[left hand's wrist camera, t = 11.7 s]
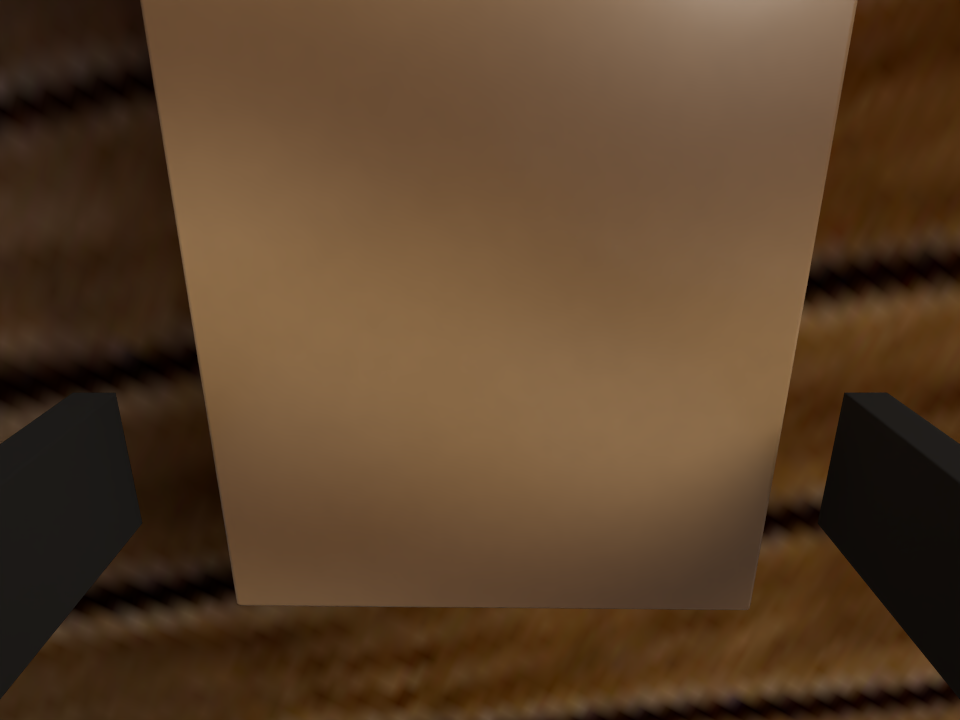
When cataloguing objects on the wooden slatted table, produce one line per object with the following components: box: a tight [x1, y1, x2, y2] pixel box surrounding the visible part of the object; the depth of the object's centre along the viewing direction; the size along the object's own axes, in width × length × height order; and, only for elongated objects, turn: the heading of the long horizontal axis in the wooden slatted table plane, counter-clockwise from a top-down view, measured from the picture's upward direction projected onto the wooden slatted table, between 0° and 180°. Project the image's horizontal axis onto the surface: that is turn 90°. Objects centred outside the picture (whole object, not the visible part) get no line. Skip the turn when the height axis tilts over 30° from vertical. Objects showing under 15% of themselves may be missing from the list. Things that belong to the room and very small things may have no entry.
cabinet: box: [140, 0, 857, 610], centre depth 14 cm, size 20×10×9 cm, turn 0°
